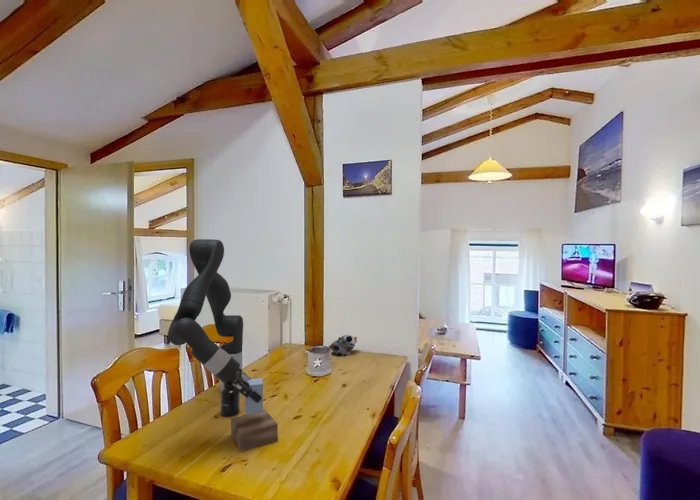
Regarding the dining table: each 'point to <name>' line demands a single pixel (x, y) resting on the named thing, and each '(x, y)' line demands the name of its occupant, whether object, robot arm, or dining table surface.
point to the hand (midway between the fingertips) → (259, 396)
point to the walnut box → (254, 430)
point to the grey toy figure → (343, 345)
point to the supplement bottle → (229, 400)
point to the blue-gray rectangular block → (250, 404)
